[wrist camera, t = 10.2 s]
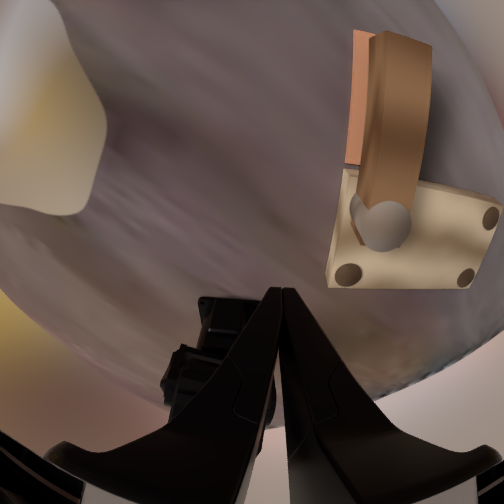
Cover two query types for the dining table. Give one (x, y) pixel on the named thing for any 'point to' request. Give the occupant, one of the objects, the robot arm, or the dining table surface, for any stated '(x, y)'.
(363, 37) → the marker strip
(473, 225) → the birch seat
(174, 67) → the dining table surface
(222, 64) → the dining table surface
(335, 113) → the dining table surface
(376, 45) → the walnut leg
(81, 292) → the dining table surface
